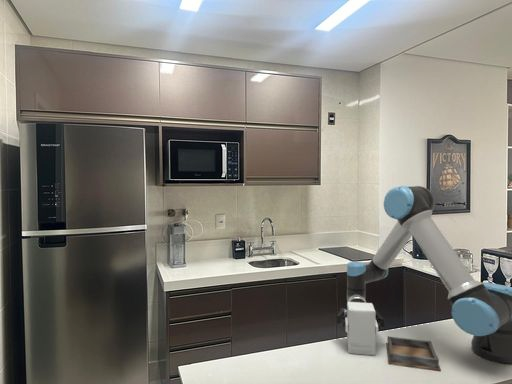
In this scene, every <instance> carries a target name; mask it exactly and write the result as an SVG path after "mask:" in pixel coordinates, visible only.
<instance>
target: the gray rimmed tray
mask: <svg viewBox="0 0 512 384" xmlns="http://www.w3.org/2000/svg"><path fill="white" fill-rule="evenodd" d="M385 347H386V355H387V364H388V365H392V366H397V367H398V366H400V367H407V368H415V369H420V370H429V371H435V372H441V370H442V369H441V366H440V364H439V363H440V361H439V358H438V355H437V352H436V350H435V348H434V346H433V343H432V341H431V340H423V339H416V338H415V339H414V338H406V337H397V336H396V337H395V336H390V335H389V336H387V342H385Z"/></svg>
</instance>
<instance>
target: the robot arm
mask: <svg viewBox="0 0 512 384" xmlns="http://www.w3.org/2000/svg"><path fill="white" fill-rule="evenodd" d="M435 205H436V199H435V195H434V194H433V192H432V191H431V190H429V189H428V188H426V187H425V186H419V185H416V186H406V185H400V186H395V187H393V188H391V189H389V190H388V191H387V192H386V194H385V196H384V200H383V208H384V212H385V214H386V215H388V217H390V218H392V219H394V220H397V222H395V223H396V224H395V225H394V226H393V228H392V229H391V231H390V233H389V234H388V235H387V237H386V238H385V240H383V243H382V244H381V245H380V247H379V248H378V250H377V252H376V253H375V254H374V256H373V257H372V259H371V260H370V261H369V263H368V264H366V263H365V262H362V261H349V262H348V263H347V266H346V267H347V268H346V302H359V303H367V300H366V290H367V289H366V288H367V287H366V284H368V283H371V282H373V283H374V282H377V281H382V280H383V279H385V278H386V277H388V275H389V268H390V267H391V265H392V264H393V262H394V261H395V260H396V258H397V257H398V255H399V254H400V253H401V252H402V250H403V249H404V248H405V245H406V244H407V243H408V242H409V240H410V239H411V238H412V237H413V238H414V240H415V241H416V243H417V244H418V246H419V248H420V250H421V251H422V253H423V254H424V255H425V257H426V259H427V260H428V262H429V263H430V265H431V266H432V268H433V270H434V271H435V273H436V274H437V275H438V277H439V279H440V280H441V283H442V284H443V285H444V287H445V288H446V289H447V291H448V294H447V295H448V296H447V300H448V301H449V303H450V305H451V317H452V319H453V321H454V323H455V324H456V326H457V327H458V328H459V329H460V330H462V331H463V332H465V334H469V335H472V339H471V347H470V348H471V351H472V352H473V353H475V354H476V355H477V356H480V357H481V358H484V359H487V360H489V361H492V362H496V363H501V364H508V365H509V364H510V365H512V287H511V286H508V285H503V284H498V283H491V282H481V281H478V280H475V279H474V277H473V276H472V274H471V273H470V271H469V270H468V269H467V267H466V266H465V264H464V263H463V261H462V260H461V258H460V257H459V255H458V254H457V253H456V251H455V250H454V249H453V247H452V246H451V244H450V243H449V241H448V240H447V238H446V237H445V236H444V234H443V233H442V231H441V230H440V228H439V227H438V226H437V224H436V223H435V221H434V219H433V218H432V215H433V211H434V208H435ZM339 309H340V310H339V312H338V313H337V315H336V324H340V323H341V327H344V328H345V333H348V319H347V309H346V308H343V307H340V308H339ZM375 312H376V328H375V336H379V330H381V327H383V328H384V327H385V318H384V317H383V316H382V315H381V314H380V313H379V312H378V310H377V309H375Z"/></svg>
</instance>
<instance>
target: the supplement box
mask: <svg viewBox="0 0 512 384" xmlns="http://www.w3.org/2000/svg"><path fill="white" fill-rule="evenodd" d="M346 302H347V301H346ZM346 310H347V313H346V314H347V319H348V333H347V332H346V333H347V334H346V338H347V339H346V341H347V343H346V345H347V351H348V354H357V355H366V356H376V333H375V328H376V312H375V310H376V309H375V306H374V304H373V303H372V302H366V303H359V302H347V303H346Z"/></svg>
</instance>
